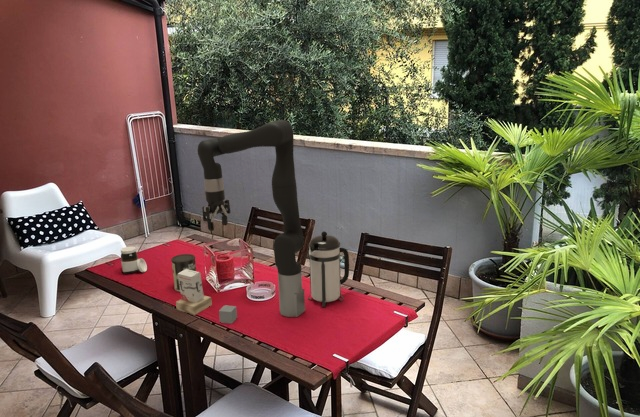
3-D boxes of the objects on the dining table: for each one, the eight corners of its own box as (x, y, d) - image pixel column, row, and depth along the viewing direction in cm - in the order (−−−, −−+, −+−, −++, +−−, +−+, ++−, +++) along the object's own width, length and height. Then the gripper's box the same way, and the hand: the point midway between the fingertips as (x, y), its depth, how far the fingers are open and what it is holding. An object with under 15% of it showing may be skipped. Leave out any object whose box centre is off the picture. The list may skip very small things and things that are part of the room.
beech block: (212, 306, 212) (211, 297, 210) (194, 316, 203) (194, 306, 202) (194, 301, 216) (193, 292, 215) (176, 310, 208) (175, 301, 207)
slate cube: (237, 318, 200) (236, 306, 198) (231, 324, 195) (230, 312, 194) (225, 316, 201) (224, 305, 200) (219, 322, 196) (218, 310, 195)
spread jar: (121, 269, 254) (118, 247, 251) (145, 265, 258) (142, 243, 255) (123, 277, 243) (120, 254, 240) (148, 273, 248) (145, 250, 245)
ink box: (180, 299, 209) (176, 272, 206) (189, 294, 213) (185, 268, 210) (196, 303, 205) (192, 276, 201) (204, 298, 209) (201, 271, 205)
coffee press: (343, 309, 204) (342, 238, 196) (304, 306, 207) (301, 236, 200) (349, 291, 221) (348, 225, 213) (313, 289, 224) (311, 223, 216)
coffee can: (202, 285, 231) (199, 256, 227) (184, 293, 223) (181, 263, 219) (188, 280, 237) (185, 252, 233) (169, 288, 229) (166, 258, 225)
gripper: (210, 193, 197) (214, 233, 202) (232, 186, 209) (236, 224, 214) (195, 192, 201) (199, 231, 205) (218, 184, 213) (222, 222, 217)
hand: (218, 227), depth 209 cm, fingers open, 8 cm apart
